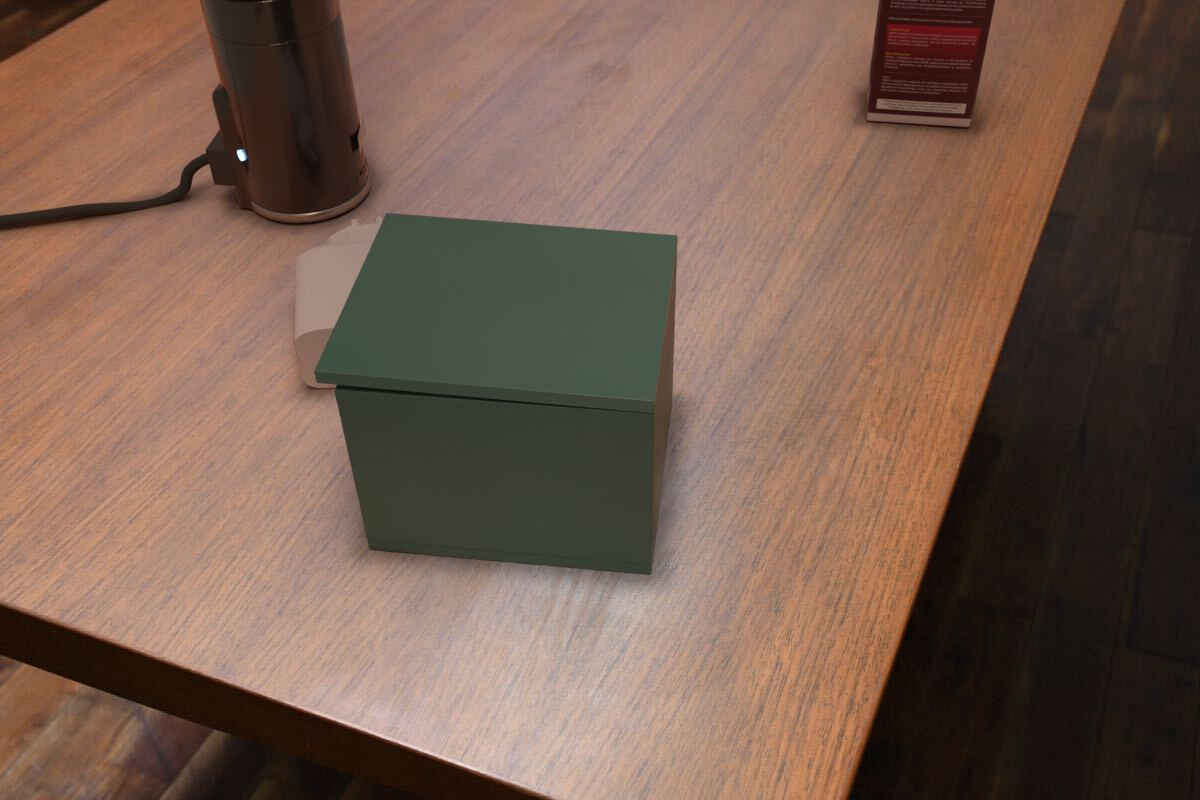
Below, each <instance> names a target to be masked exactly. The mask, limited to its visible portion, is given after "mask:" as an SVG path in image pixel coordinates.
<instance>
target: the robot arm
mask: <svg viewBox="0 0 1200 800" xmlns="http://www.w3.org/2000/svg"><path fill="white" fill-rule="evenodd" d="M199 3H200V7H201V11H202V15H203V20H204V24H205V27H206V31H207V36H208V39H209V43H210V47H211V52H212V55H213V59H214V63H215V64H214V65H215V67H216V71H217V76H218V79H219V83H218V84H217V85H216V87H215V88H214V89H213V91H212V93H211V100H212V104H213V108H214V113H215V116H216V120H217V124H218V128H219V130H218V131H217V132H216V134H215V136H214V137H213V138H212V139H211V141H210V143H209V144H208V145H207V147H206V148H205V150H204V151H205V153H203V154H201V155H199V156H197V157H194V158H193V159H191V161H190V162H188V163H187V164H186V165H185V166H184V167H183V169H182V171H181V175H180V180H179V183H178V186H176V187H175V188H173V189H172V190H170V191H168V192H167V193H164V194H162V195H160V196H157V197H153V198H149V199H144V200H137V201H136V200H135V201H122V202H121V201H120V202H118V201H117V202H93V203H82V204H73V205H68V206H61V207H54V208H47V209H40V210H34V211H26V212H18V213H10V214H9V213H8V214H2V215H0V228H2V227H11V226H19V225H26V224H27V225H29V224H34V223H41V222H49V221H55V220H63V219H68V218H76V217H82V216H95V215H114V214H127V213H131V212H138V211H144V210H148V209H153V208H158V207H163V206H167V205H170V204H173V203H176V202H177V201H179V200H180V199H183V197H185V196H187V194H188V193H189V192H190V190H191V188H192V185H193V179H194V176H195V175H196V173H197V172H198V171H199V170H200V169H202V168H204V167H206V166H209V169H210V173H211V177H212V180H213V185H215V186H224V187H225V186H226V187H234V190H235V194H236V199H237V202H238V206H239V208H240V209H250V210H253V211H254V212H255V213H257V214H258V215H260V216H262V217H263V218H266V219H268V220H272V221H277V222H280V223H281V222H282V223H290V224H301V223H302V224H304V223H314V222H321V221H324V220H329V219H331V218H334V217H337V216H340V215H343V214H344V213H346V212H348V211H350V210H352V209H354V208H355V207H356V206H357V205H359V204H360V203H361V202H363V200H364V199H365V198H366V197H367V195H368V194H369V192H370V190H371V185H372V180H371V174H370V170H369V167H368V160H367V155H366V151H365V146H364V142H365V136H366V132H367V129H366V124H365V123H366V122H365V118H364V117H365V116H362V117H361V121H360V116H359V110H358V106H357V105H358V102H357V97H356V93H355V86H354V80H353V75H352V74H353V73H352V69H351V61H350V56H349V51H348V45H347V39H346V33H345V32H346V31H345V27H344V20H343V15H342V9H341V4H340V0H199Z"/></svg>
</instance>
